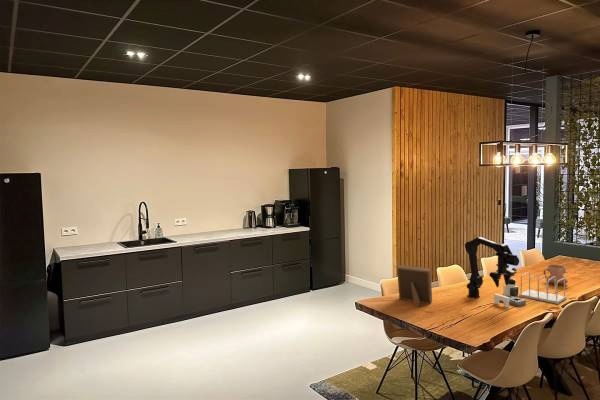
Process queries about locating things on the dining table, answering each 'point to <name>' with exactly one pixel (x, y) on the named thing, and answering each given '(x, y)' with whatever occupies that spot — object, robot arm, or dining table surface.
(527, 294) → the file sorter
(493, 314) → the dining table surface
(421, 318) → the dining table surface
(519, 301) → the grey base block
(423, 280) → the photo frame
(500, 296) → the white arch block
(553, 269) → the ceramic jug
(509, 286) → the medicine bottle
